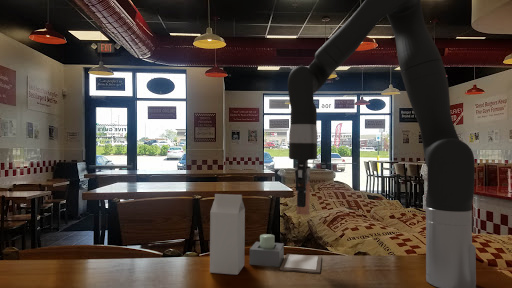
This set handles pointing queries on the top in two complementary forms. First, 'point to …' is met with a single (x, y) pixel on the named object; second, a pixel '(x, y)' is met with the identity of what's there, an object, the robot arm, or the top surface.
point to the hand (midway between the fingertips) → (302, 205)
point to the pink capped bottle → (306, 209)
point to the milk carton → (227, 234)
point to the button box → (266, 255)
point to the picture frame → (301, 263)
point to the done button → (267, 241)
